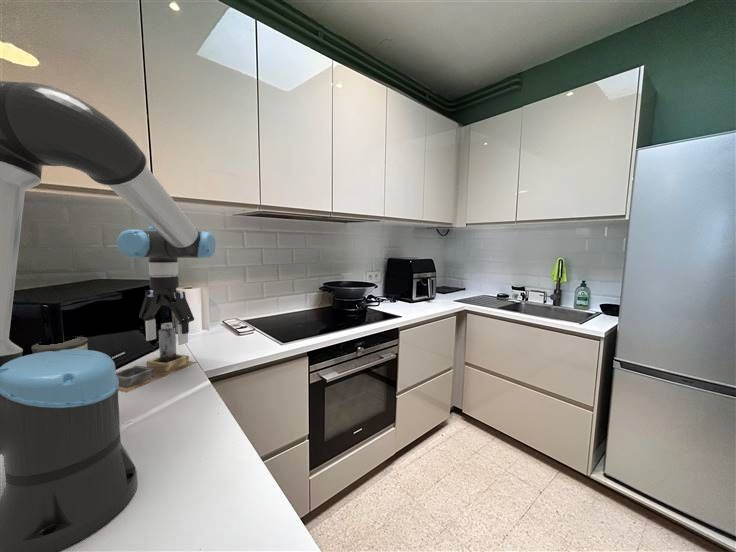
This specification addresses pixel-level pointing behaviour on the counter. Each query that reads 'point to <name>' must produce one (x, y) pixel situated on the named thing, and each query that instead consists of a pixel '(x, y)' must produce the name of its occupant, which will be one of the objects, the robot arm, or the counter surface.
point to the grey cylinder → (167, 343)
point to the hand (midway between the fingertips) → (167, 341)
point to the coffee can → (62, 345)
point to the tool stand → (150, 372)
